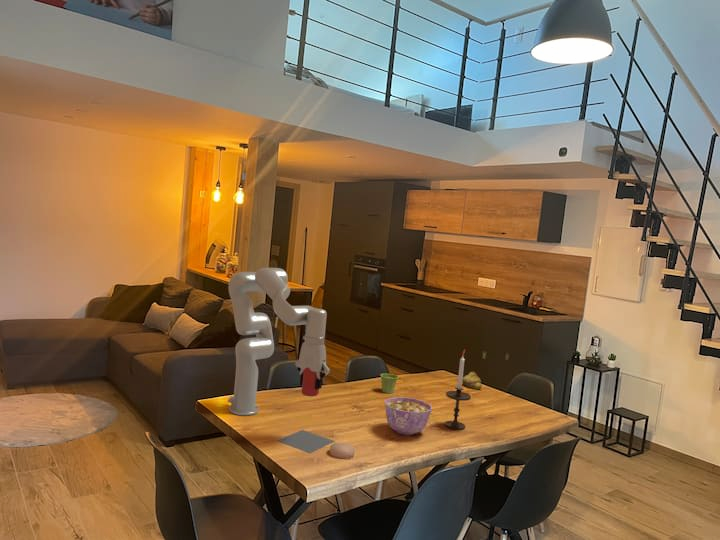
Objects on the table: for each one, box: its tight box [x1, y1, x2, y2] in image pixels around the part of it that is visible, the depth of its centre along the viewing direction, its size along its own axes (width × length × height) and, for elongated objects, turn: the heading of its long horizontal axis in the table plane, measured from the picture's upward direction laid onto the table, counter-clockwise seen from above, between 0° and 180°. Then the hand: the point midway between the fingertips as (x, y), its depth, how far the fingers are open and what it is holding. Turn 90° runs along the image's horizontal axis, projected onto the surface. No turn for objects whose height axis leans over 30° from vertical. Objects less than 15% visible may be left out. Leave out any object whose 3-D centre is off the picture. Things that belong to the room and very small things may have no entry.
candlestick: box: [444, 349, 472, 431], centre depth 237 cm, size 11×11×35 cm
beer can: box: [301, 367, 320, 398], centre depth 206 cm, size 7×7×12 cm
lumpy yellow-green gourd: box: [462, 371, 483, 390], centre depth 309 cm, size 13×10×8 cm
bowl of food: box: [384, 396, 433, 436], centre depth 225 cm, size 20×20×12 cm
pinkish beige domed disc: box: [329, 442, 356, 460], centre depth 194 cm, size 9×9×3 cm
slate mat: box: [275, 429, 336, 454], centre depth 202 cm, size 16×16×1 cm
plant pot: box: [380, 373, 399, 394], centre depth 282 cm, size 9×9×9 cm
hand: (310, 386), depth 206 cm, fingers closed on beer can, 6 cm apart
